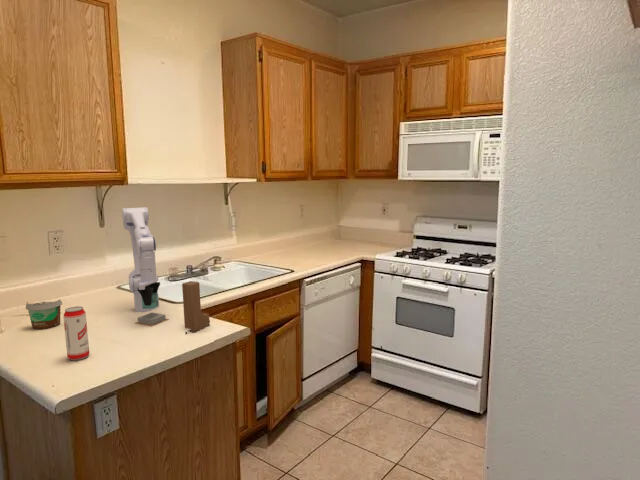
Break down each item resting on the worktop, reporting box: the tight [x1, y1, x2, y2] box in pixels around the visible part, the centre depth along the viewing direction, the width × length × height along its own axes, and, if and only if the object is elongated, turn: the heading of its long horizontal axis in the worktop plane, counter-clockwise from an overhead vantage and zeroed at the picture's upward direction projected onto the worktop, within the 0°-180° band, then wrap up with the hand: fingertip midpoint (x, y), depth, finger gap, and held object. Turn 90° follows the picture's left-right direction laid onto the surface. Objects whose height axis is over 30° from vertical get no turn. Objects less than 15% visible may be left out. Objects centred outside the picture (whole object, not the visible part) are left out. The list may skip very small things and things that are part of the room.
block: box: [142, 292, 159, 310], centre depth 173 cm, size 4×4×5 cm
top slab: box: [137, 312, 167, 326], centre depth 174 cm, size 7×7×2 cm
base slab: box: [134, 318, 170, 327], centre depth 174 cm, size 9×9×2 cm
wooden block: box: [181, 280, 211, 333], centre depth 168 cm, size 9×4×18 cm, turn 155°
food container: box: [25, 299, 63, 331], centre depth 172 cm, size 12×6×10 cm, turn 105°
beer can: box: [63, 306, 90, 362], centre depth 143 cm, size 6×6×16 cm
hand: (150, 303), depth 173 cm, fingers closed on block, 4 cm apart
